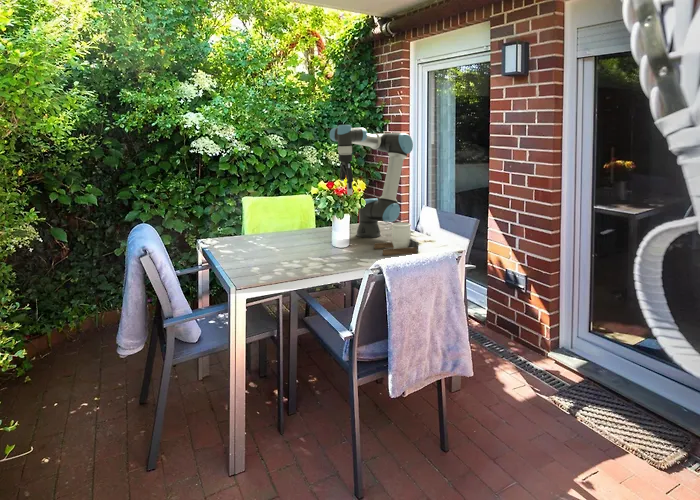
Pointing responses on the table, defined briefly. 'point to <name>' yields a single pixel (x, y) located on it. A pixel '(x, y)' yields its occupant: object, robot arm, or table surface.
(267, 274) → the table surface
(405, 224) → the jar
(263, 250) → the table surface
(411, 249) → the channel
